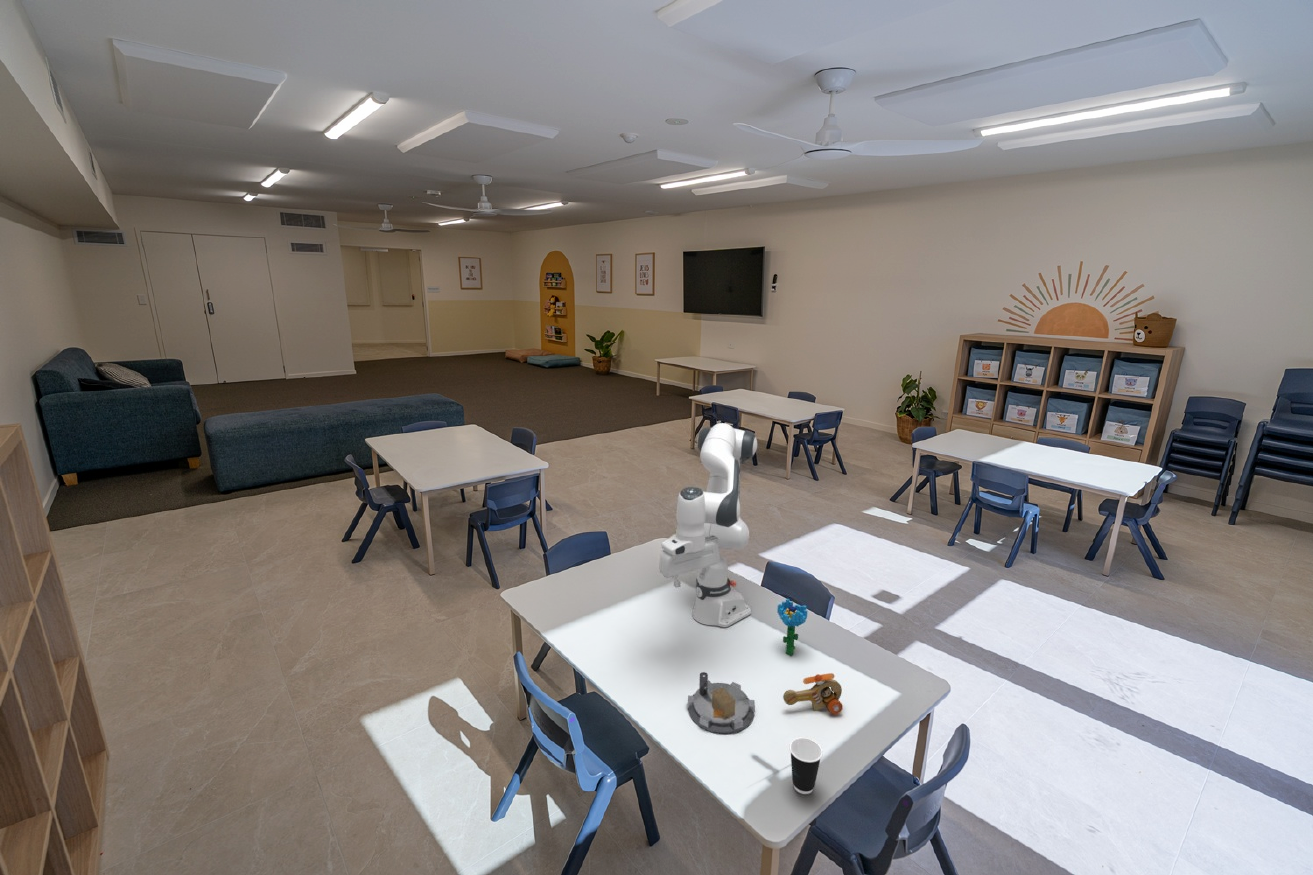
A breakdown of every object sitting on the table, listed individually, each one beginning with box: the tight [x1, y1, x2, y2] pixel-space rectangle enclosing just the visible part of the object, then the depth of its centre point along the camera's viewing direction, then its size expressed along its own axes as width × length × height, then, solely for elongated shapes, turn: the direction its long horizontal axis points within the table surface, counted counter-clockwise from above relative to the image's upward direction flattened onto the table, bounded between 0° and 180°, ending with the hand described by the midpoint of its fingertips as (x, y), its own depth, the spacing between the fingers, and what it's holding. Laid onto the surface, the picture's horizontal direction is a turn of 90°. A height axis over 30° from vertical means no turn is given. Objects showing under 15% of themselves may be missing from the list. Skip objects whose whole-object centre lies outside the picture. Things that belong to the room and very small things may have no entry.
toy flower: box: [777, 598, 809, 657], centre depth 193 cm, size 9×9×18 cm
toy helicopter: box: [782, 672, 844, 715], centre depth 167 cm, size 7×18×12 cm, turn 101°
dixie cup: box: [788, 736, 824, 795], centre depth 140 cm, size 8×8×11 cm
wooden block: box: [712, 688, 735, 719], centre depth 161 cm, size 6×4×5 cm, turn 31°
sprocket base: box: [687, 693, 755, 735], centre depth 168 cm, size 19×19×1 cm
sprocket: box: [687, 671, 756, 730], centre depth 166 cm, size 18×19×8 cm
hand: (689, 582), depth 178 cm, fingers open, 8 cm apart
